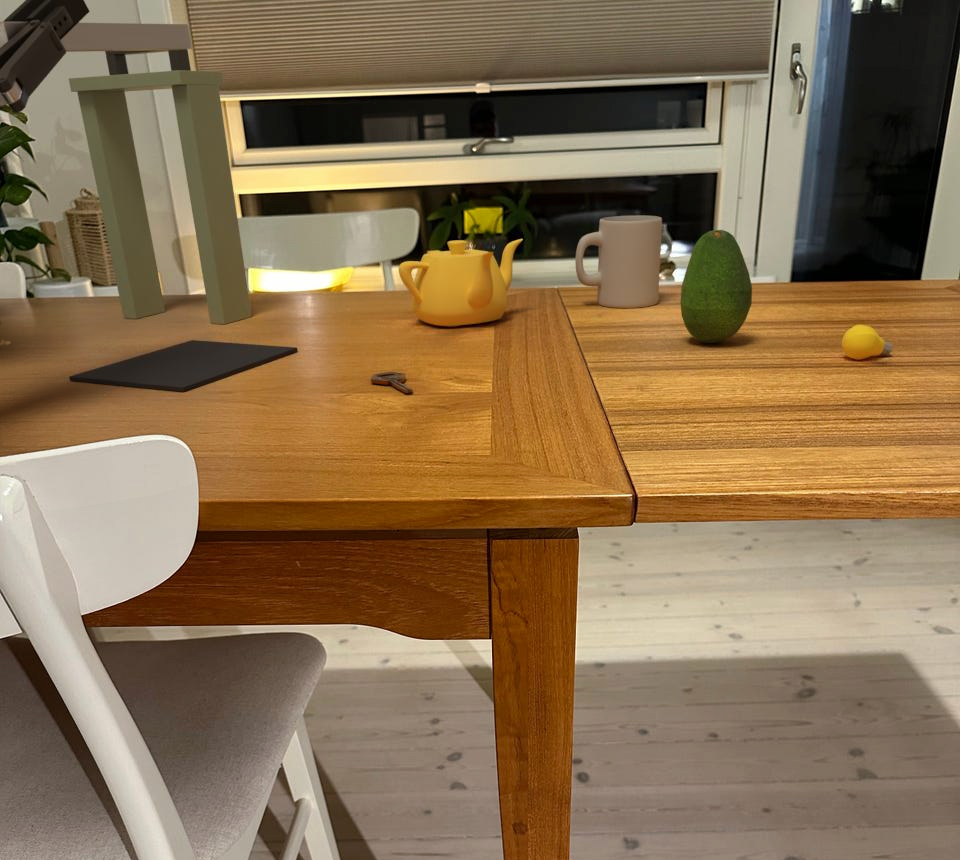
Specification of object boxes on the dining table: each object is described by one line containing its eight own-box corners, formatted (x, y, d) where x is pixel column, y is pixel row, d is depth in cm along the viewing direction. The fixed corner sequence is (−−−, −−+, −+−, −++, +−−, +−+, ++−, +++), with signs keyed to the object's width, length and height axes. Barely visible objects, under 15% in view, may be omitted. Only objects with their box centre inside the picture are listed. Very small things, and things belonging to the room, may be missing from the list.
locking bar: (-7, 53, 84) (-15, 23, 83) (176, 50, 103) (172, 25, 102) (10, 51, 84) (3, 21, 82) (192, 48, 102) (188, 24, 101)
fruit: (662, 342, 111) (668, 230, 105) (712, 333, 114) (721, 224, 108) (711, 353, 105) (721, 235, 99) (762, 343, 108) (774, 228, 102)
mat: (69, 380, 104) (68, 376, 104) (193, 344, 120) (192, 339, 119) (183, 392, 98) (182, 387, 97) (297, 351, 113) (297, 347, 113)
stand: (118, 319, 137) (60, 39, 121) (157, 309, 144) (106, 42, 127) (220, 325, 130) (172, 28, 114) (256, 315, 136) (216, 32, 120)
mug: (644, 296, 139) (648, 214, 134) (668, 305, 132) (672, 219, 126) (565, 302, 137) (566, 219, 131) (585, 312, 129) (587, 224, 124)
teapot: (494, 332, 119) (492, 247, 115) (395, 329, 123) (389, 246, 119) (524, 312, 131) (523, 234, 126) (432, 310, 135) (428, 234, 130)
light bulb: (832, 358, 100) (837, 323, 100) (875, 368, 103) (881, 335, 102) (855, 354, 97) (861, 318, 97) (899, 365, 99) (905, 330, 99)
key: (393, 395, 93) (393, 391, 92) (365, 379, 99) (365, 375, 99) (429, 390, 94) (429, 386, 94) (399, 374, 100) (398, 370, 100)
